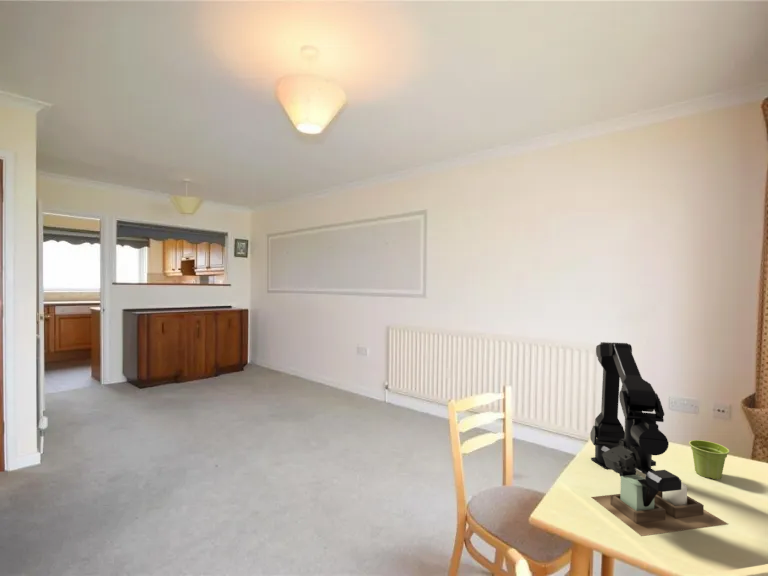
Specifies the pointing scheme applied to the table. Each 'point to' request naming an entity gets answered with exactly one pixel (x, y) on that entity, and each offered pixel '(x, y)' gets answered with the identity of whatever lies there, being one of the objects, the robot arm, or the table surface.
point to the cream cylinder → (676, 496)
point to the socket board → (660, 515)
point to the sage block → (633, 492)
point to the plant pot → (708, 458)
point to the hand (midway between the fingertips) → (637, 500)
